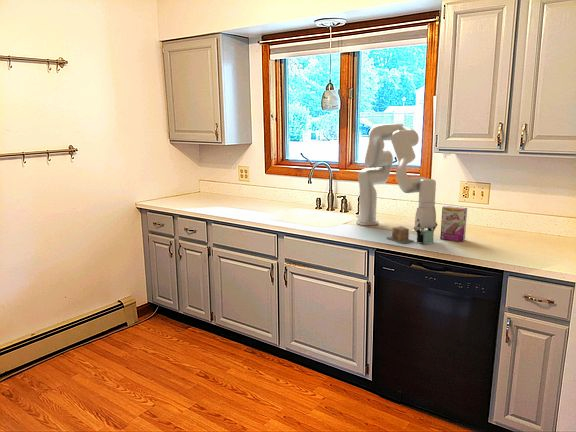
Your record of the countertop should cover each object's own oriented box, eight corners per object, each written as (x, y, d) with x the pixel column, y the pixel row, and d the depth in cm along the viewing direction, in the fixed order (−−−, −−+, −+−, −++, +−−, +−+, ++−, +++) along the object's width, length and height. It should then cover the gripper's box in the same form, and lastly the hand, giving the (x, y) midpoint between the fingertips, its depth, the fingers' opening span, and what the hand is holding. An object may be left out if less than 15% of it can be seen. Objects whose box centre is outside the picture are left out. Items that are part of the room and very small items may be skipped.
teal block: (416, 241, 232) (417, 230, 231) (424, 240, 235) (425, 229, 234) (424, 244, 228) (425, 233, 227) (433, 242, 230) (433, 231, 229)
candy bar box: (439, 239, 236) (441, 207, 233) (442, 237, 240) (444, 205, 237) (463, 242, 230) (465, 209, 227) (465, 239, 235) (467, 207, 231)
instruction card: (403, 229, 257) (403, 228, 257) (409, 228, 259) (409, 227, 259) (411, 231, 252) (411, 230, 252) (417, 230, 254) (417, 229, 254)
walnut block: (392, 238, 236) (392, 227, 235) (400, 237, 239) (400, 226, 238) (400, 241, 232) (400, 230, 230) (408, 239, 234) (408, 228, 233)
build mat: (386, 238, 239) (386, 237, 239) (397, 236, 242) (397, 235, 242) (403, 243, 229) (403, 242, 228) (414, 241, 232) (414, 240, 232)
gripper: (433, 201, 235) (431, 237, 239) (407, 205, 226) (406, 242, 230) (445, 204, 229) (443, 240, 232) (419, 207, 220) (417, 245, 224)
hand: (424, 240), depth 231 cm, fingers closed on teal block, 5 cm apart
